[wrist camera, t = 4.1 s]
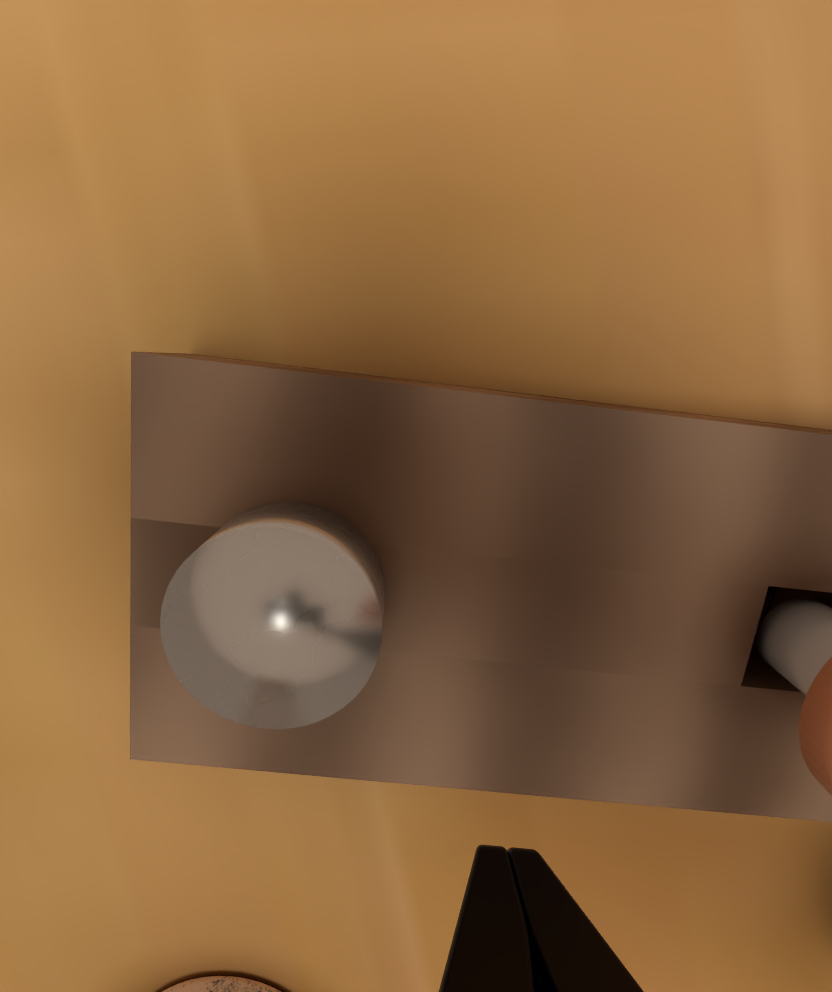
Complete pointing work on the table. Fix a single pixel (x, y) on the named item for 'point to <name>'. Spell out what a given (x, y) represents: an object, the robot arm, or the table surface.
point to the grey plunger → (276, 616)
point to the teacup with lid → (221, 985)
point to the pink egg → (805, 673)
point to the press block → (500, 581)
